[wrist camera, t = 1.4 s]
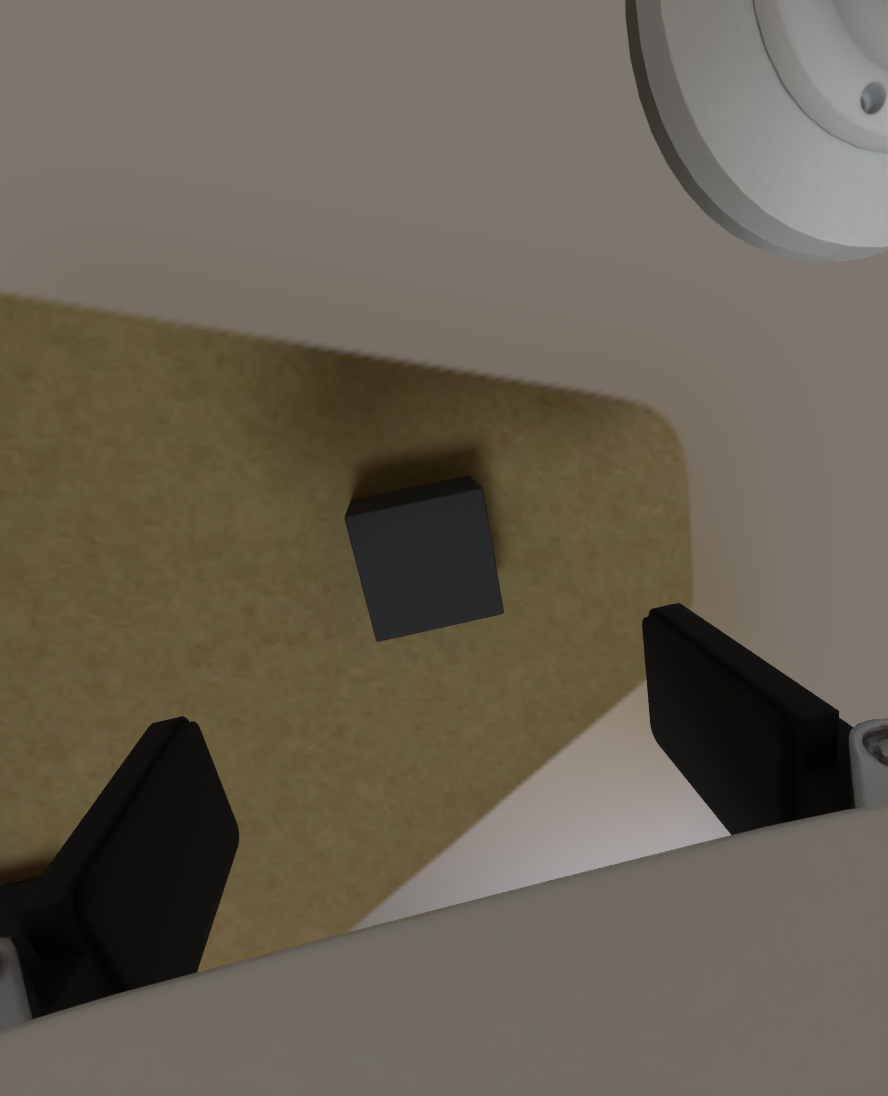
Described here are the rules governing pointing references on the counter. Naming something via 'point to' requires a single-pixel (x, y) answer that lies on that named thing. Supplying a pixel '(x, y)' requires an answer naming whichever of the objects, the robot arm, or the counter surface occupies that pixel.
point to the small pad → (425, 557)
